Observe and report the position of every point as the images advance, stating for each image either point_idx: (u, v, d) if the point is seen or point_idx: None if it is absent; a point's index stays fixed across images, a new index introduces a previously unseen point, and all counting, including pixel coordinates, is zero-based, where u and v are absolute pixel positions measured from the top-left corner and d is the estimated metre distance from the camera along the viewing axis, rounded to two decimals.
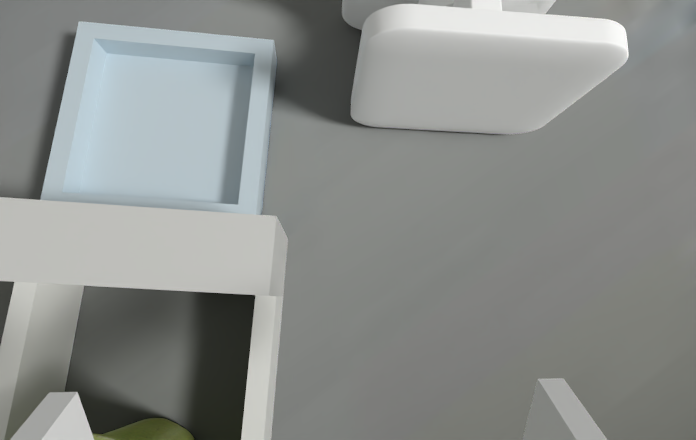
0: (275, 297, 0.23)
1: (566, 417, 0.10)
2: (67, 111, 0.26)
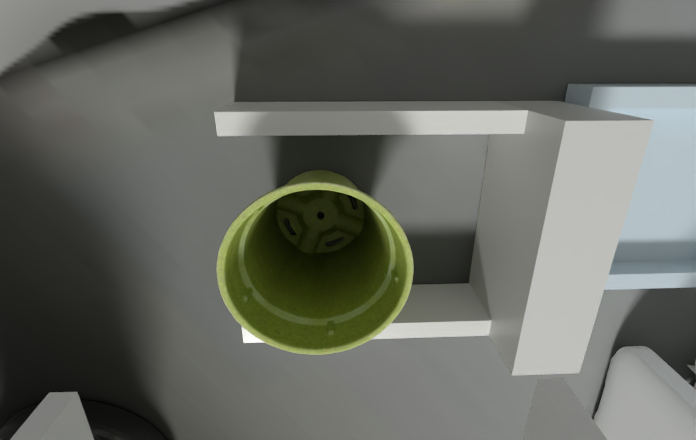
0: (487, 334, 0.26)
1: (566, 418, 0.10)
2: None
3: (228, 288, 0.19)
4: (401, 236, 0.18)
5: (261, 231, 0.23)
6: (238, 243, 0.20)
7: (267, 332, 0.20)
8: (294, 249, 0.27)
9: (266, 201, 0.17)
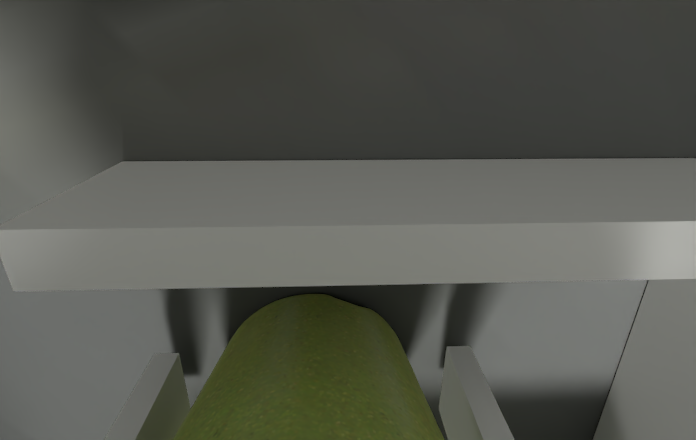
0: None
1: (462, 377, 0.11)
2: None
3: None
4: None
5: None
6: None
7: None
8: None
9: None
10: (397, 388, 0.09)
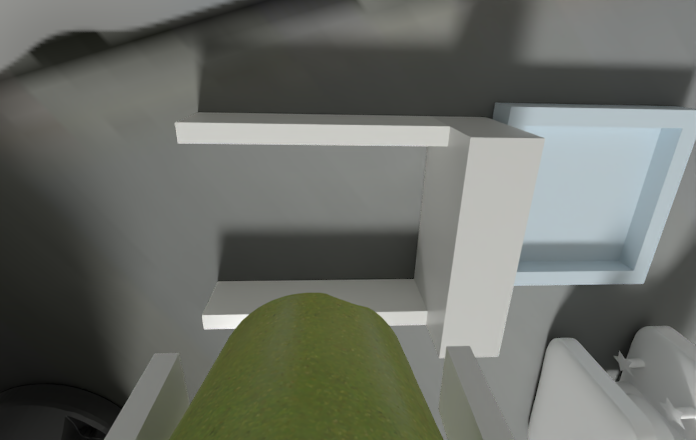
0: (424, 324, 0.29)
1: (462, 377, 0.11)
2: (607, 116, 0.26)
3: None
4: None
5: None
6: None
7: None
8: None
9: None
10: (395, 387, 0.09)
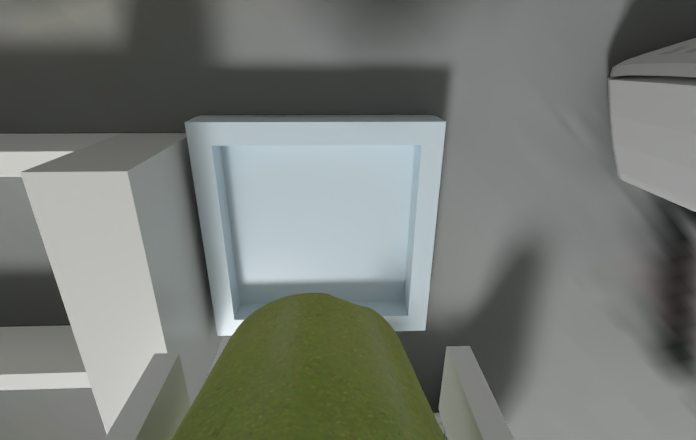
0: None
1: (462, 377, 0.11)
2: (316, 131, 0.20)
3: None
4: None
5: None
6: None
7: None
8: None
9: None
10: (398, 387, 0.09)
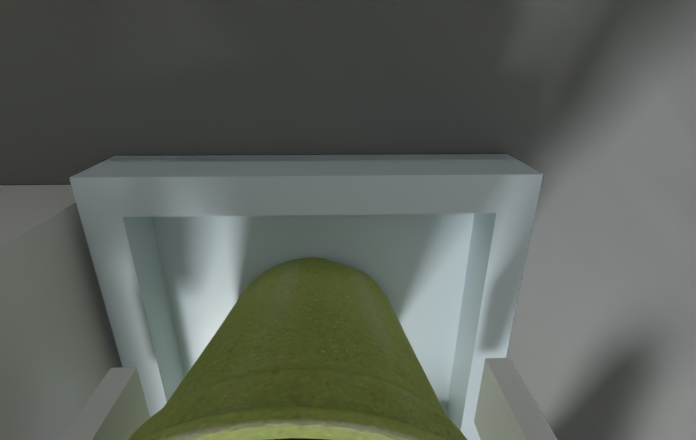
0: None
1: (505, 392, 0.11)
2: (311, 192, 0.11)
3: None
4: None
5: None
6: None
7: None
8: None
9: None
10: (382, 325, 0.11)
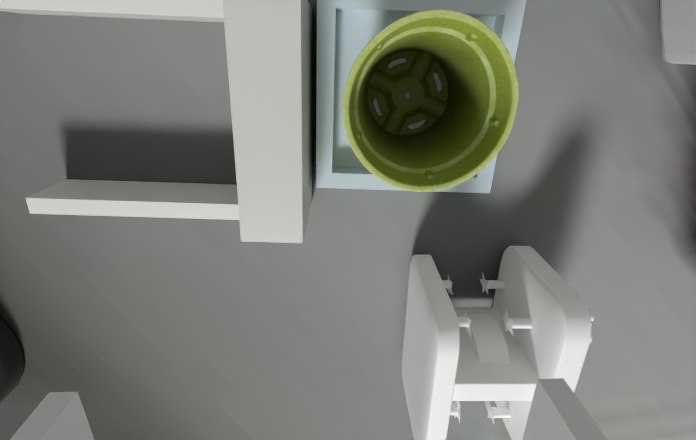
0: None
1: (566, 418, 0.10)
2: None
3: (350, 117, 0.21)
4: (511, 69, 0.20)
5: (363, 92, 0.25)
6: (357, 82, 0.22)
7: (376, 168, 0.23)
8: (381, 128, 0.29)
9: (396, 27, 0.20)
10: (453, 52, 0.24)
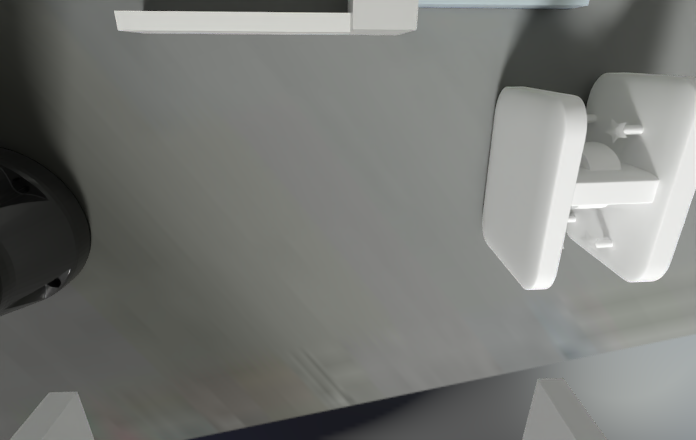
0: (349, 31, 0.28)
1: (566, 418, 0.10)
2: None
3: None
4: None
5: None
6: None
7: None
8: None
9: None
10: None
